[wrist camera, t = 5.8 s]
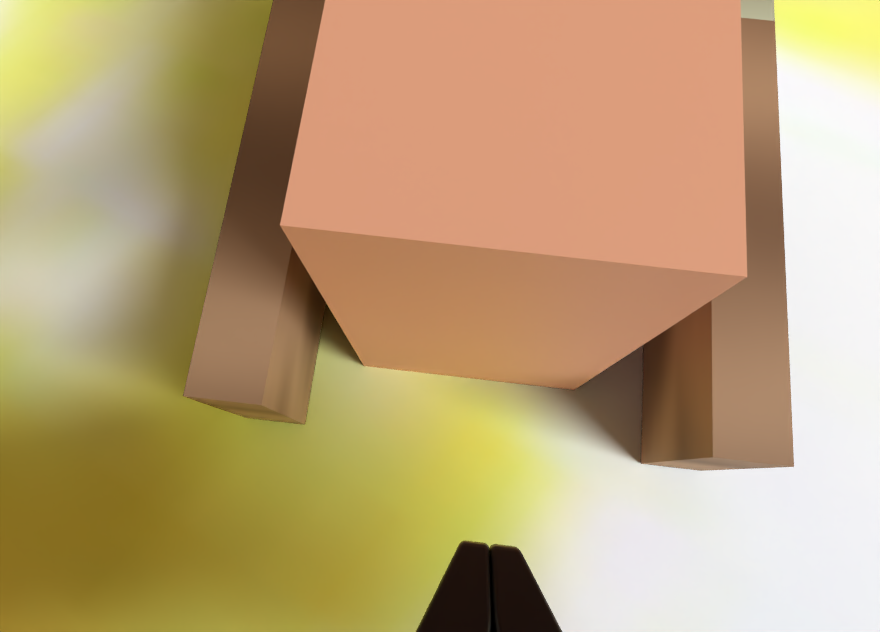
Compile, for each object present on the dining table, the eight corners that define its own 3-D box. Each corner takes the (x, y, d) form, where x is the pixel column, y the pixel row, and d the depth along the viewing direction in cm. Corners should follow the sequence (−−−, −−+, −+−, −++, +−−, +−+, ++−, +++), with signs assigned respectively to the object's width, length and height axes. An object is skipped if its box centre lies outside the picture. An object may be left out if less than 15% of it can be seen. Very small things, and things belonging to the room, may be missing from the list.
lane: (700, 470, 15) (794, 466, 11) (246, 417, 15) (183, 395, 11) (699, 10, 19) (768, -113, 15) (334, -28, 19) (308, -158, 15)
